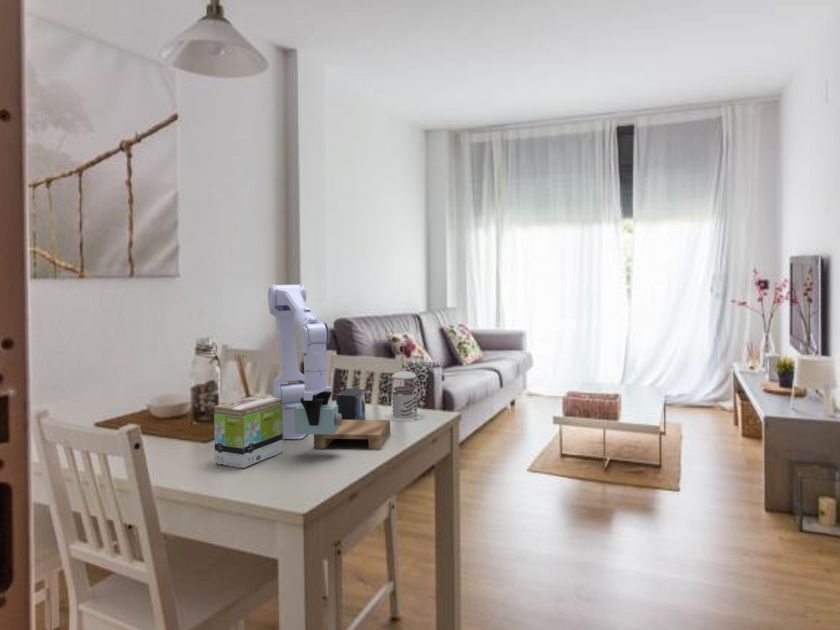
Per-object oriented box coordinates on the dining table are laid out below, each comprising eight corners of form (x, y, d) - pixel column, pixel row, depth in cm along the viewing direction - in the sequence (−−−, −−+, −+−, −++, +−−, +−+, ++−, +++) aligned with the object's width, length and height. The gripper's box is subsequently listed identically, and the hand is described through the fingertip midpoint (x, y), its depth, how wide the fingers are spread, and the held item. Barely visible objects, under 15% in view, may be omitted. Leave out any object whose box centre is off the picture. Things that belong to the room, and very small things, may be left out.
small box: (356, 429, 179) (355, 395, 178) (335, 428, 180) (334, 394, 179) (366, 420, 189) (365, 388, 188) (347, 420, 190) (346, 388, 190)
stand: (314, 448, 159) (313, 433, 159) (330, 432, 175) (329, 419, 175) (379, 449, 157) (379, 434, 157) (390, 433, 173) (390, 420, 173)
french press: (383, 418, 192) (381, 341, 190) (409, 412, 200) (407, 338, 198) (404, 423, 185) (402, 343, 183) (430, 416, 193) (428, 340, 191)
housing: (295, 434, 151) (294, 408, 150) (301, 428, 156) (300, 404, 155) (338, 434, 149) (337, 409, 149) (343, 429, 154) (342, 404, 154)
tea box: (245, 469, 143) (243, 409, 142) (214, 464, 147) (211, 406, 146) (284, 452, 157) (282, 396, 156) (255, 448, 161) (252, 394, 160)
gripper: (322, 374, 144) (324, 430, 145) (338, 365, 158) (339, 415, 159) (294, 374, 145) (296, 429, 146) (312, 365, 159) (314, 415, 160)
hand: (317, 422), depth 152 cm, fingers closed on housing, 5 cm apart
